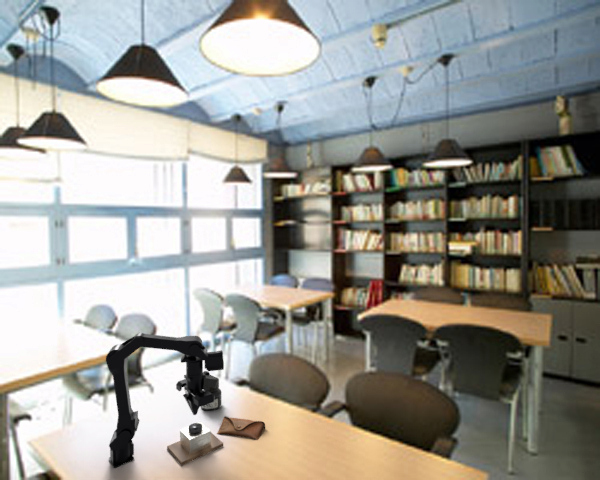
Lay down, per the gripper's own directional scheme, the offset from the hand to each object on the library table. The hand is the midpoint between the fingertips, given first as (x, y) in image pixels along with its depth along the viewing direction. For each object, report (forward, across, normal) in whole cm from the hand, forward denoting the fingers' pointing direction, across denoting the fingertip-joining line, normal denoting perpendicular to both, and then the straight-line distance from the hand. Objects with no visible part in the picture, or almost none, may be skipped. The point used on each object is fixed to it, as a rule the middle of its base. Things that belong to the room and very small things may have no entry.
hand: (194, 414), depth 131 cm
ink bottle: (+13, +23, -19) cm, 32 cm away
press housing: (+11, 0, 0) cm, 11 cm away
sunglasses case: (+13, -2, -18) cm, 23 cm away
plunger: (+11, 0, 0) cm, 11 cm away
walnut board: (+12, 0, 0) cm, 12 cm away
